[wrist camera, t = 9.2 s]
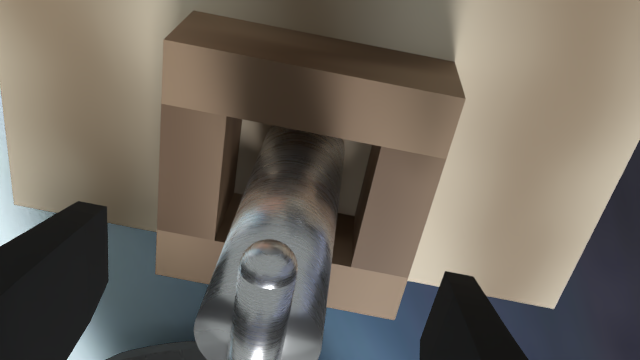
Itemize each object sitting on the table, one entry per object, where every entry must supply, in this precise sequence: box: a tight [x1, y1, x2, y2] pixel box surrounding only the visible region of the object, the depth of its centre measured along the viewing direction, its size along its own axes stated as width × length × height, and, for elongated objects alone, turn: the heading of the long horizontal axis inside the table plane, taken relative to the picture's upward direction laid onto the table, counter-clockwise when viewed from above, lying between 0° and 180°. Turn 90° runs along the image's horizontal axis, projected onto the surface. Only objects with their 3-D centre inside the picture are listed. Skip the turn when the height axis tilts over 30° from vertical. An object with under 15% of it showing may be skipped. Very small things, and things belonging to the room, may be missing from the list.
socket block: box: [155, 10, 466, 320], centre depth 16 cm, size 7×7×2 cm
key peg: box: [194, 125, 345, 360], centre depth 14 cm, size 2×5×8 cm, turn 171°
